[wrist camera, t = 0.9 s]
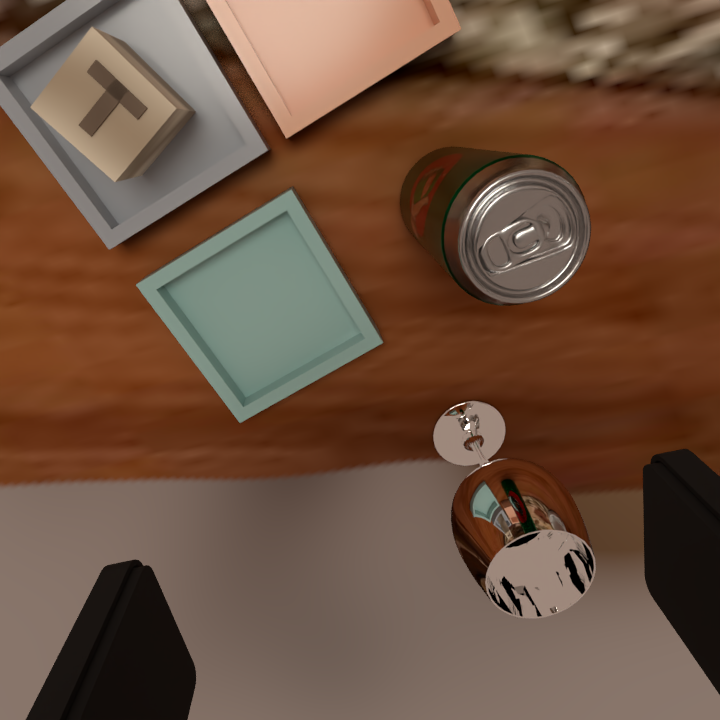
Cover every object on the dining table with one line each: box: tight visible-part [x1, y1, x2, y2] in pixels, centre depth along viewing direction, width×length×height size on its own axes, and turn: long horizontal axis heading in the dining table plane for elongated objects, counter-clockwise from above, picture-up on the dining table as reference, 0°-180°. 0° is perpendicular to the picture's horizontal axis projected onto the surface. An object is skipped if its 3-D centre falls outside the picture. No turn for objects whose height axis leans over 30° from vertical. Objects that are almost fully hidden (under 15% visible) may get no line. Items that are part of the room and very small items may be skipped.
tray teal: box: [136, 186, 383, 423], centre depth 30 cm, size 9×9×2 cm
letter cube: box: [30, 27, 196, 182], centre depth 25 cm, size 4×4×4 cm
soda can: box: [400, 147, 591, 306], centre depth 24 cm, size 5×5×12 cm
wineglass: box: [433, 400, 596, 619], centre depth 29 cm, size 6×6×12 cm
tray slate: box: [0, 0, 271, 250], centre depth 26 cm, size 9×9×2 cm
